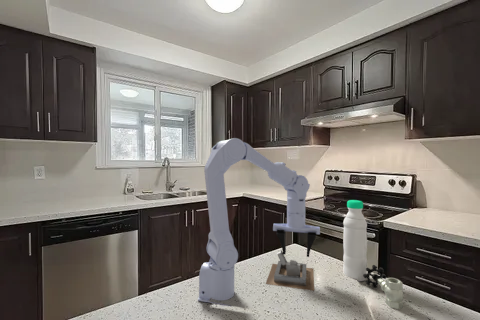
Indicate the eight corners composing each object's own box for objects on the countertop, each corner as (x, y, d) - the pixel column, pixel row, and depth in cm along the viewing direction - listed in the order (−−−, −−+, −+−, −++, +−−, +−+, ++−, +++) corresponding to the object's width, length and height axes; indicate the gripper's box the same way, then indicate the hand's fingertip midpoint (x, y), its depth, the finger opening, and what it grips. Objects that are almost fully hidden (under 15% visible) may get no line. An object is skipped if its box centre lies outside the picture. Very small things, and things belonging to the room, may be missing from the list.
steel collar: (274, 282, 76) (274, 275, 76) (278, 266, 87) (278, 260, 87) (305, 286, 73) (305, 279, 73) (306, 269, 84) (306, 263, 84)
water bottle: (356, 271, 86) (356, 198, 86) (372, 280, 79) (372, 202, 79) (338, 273, 84) (338, 199, 84) (353, 283, 77) (353, 203, 77)
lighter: (300, 276, 79) (300, 252, 78) (299, 279, 77) (299, 254, 77) (278, 273, 81) (277, 249, 81) (277, 276, 79) (276, 251, 79)
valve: (411, 310, 63) (384, 286, 75) (412, 284, 63) (384, 264, 75) (386, 310, 63) (362, 286, 75) (386, 284, 63) (363, 264, 75)
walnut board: (265, 287, 75) (265, 283, 75) (272, 266, 89) (272, 263, 89) (314, 294, 71) (314, 290, 71) (313, 271, 85) (313, 268, 85)
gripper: (319, 210, 81) (319, 252, 81) (275, 208, 85) (275, 248, 85) (320, 215, 75) (320, 260, 75) (272, 212, 78) (272, 255, 78)
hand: (296, 254), depth 79 cm, fingers open, 7 cm apart
